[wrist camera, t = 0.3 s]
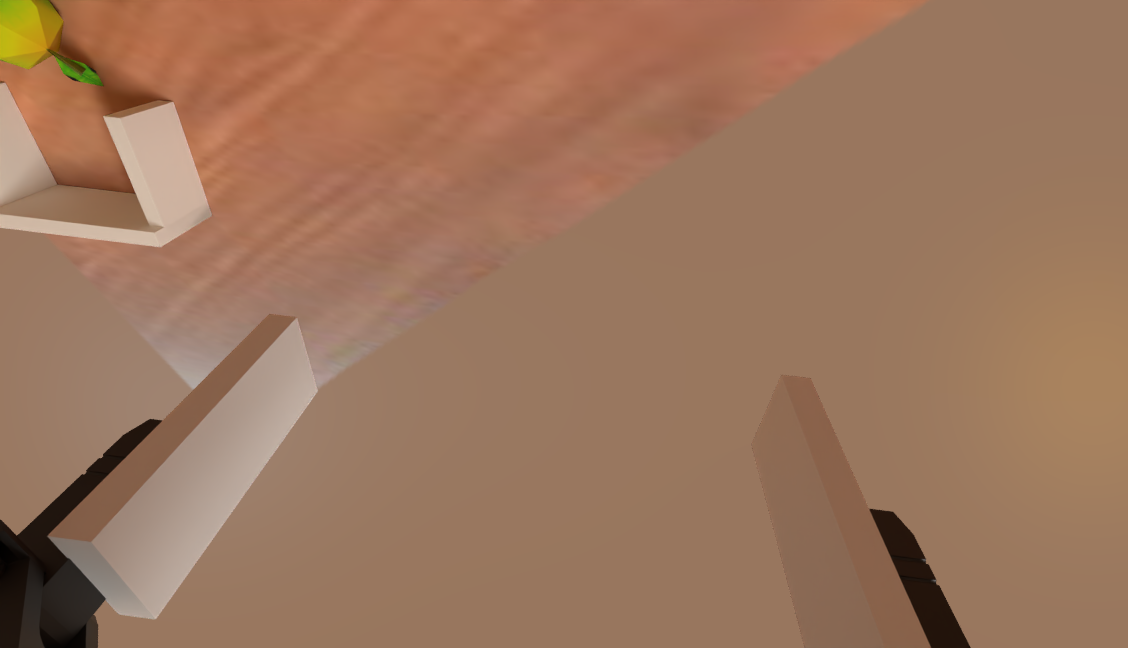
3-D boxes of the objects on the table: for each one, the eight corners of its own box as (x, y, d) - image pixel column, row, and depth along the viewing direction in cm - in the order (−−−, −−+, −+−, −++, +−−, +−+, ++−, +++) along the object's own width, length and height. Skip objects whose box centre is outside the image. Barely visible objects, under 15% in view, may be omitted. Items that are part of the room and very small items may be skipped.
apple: (-154, -21, 29) (19, 87, 31) (-73, -100, 30) (89, 11, 32) (-51, 41, 36) (85, 127, 38) (13, -25, 37) (141, 62, 39)
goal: (-10, 81, 39) (-101, 98, 34) (173, 101, 39) (108, 121, 34) (50, 196, 44) (-20, 225, 39) (212, 215, 44) (160, 247, 39)
